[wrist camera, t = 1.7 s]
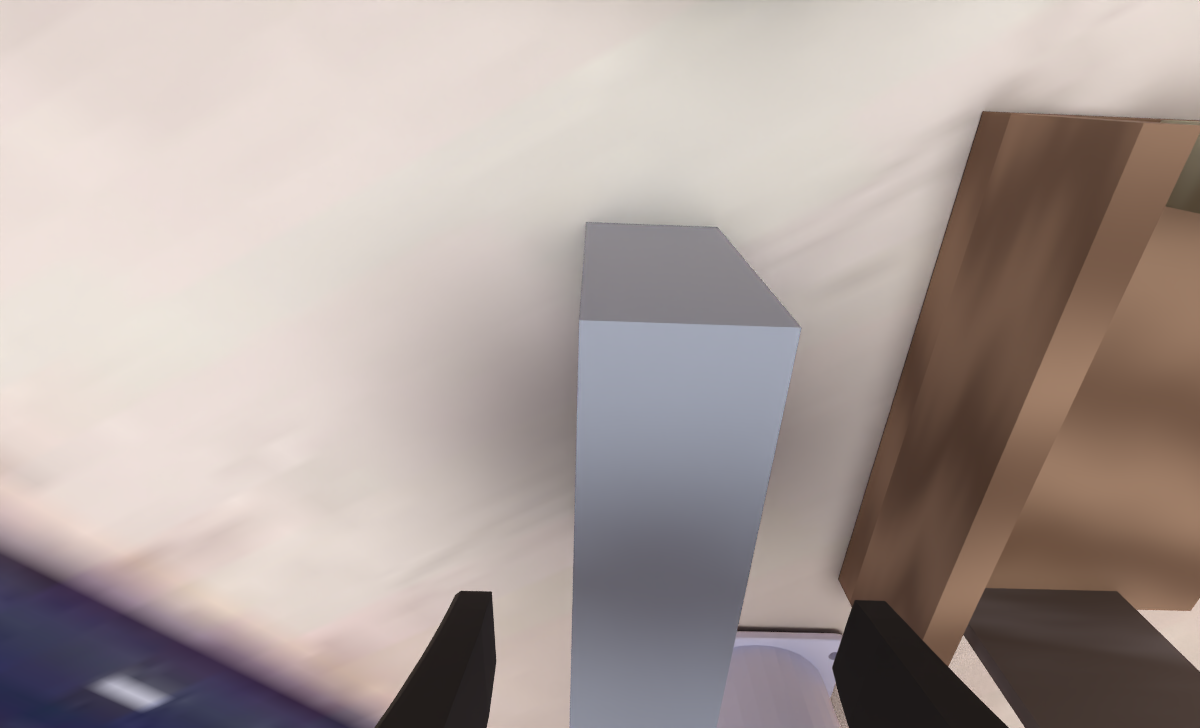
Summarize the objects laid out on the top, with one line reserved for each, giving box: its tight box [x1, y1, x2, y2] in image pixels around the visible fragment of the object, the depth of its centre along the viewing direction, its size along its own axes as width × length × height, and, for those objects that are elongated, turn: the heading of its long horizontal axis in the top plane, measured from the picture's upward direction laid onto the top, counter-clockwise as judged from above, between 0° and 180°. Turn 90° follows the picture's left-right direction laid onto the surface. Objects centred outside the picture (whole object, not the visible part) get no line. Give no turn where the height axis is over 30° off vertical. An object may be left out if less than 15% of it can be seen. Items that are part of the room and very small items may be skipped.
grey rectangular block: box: [570, 222, 801, 728], centre depth 16 cm, size 4×12×8 cm, turn 178°
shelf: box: [838, 111, 1200, 728], centre depth 17 cm, size 18×14×7 cm
